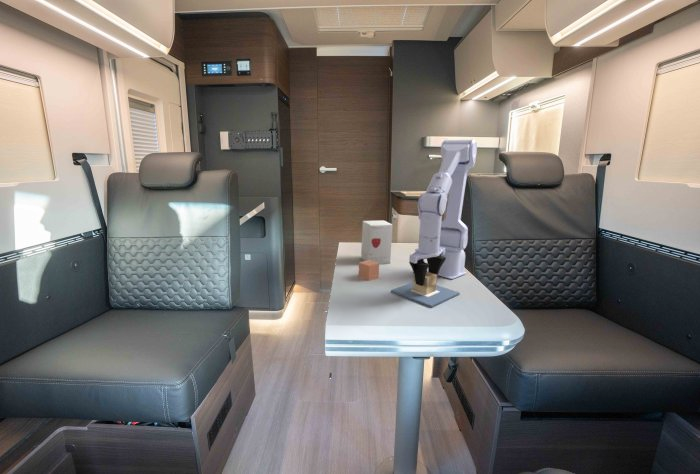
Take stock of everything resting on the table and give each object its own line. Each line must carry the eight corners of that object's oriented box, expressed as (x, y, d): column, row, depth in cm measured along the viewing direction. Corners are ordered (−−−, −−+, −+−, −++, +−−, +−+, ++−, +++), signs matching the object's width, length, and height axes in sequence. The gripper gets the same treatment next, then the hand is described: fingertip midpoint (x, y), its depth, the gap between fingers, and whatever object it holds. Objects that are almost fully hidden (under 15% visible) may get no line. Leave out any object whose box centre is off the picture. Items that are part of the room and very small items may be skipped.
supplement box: (367, 265, 122) (369, 224, 119) (360, 258, 131) (361, 220, 127) (391, 263, 125) (393, 224, 121) (382, 257, 133) (384, 219, 130)
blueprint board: (419, 281, 107) (419, 279, 107) (459, 294, 97) (459, 292, 97) (390, 292, 98) (391, 289, 98) (431, 307, 88) (431, 305, 88)
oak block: (422, 286, 101) (423, 270, 100) (435, 291, 98) (436, 274, 96) (413, 290, 98) (414, 273, 97) (426, 295, 95) (427, 278, 93)
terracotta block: (368, 274, 113) (369, 259, 112) (378, 277, 110) (379, 263, 109) (358, 277, 110) (359, 262, 109) (368, 281, 107) (369, 265, 106)
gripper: (432, 230, 101) (428, 273, 104) (401, 237, 92) (399, 284, 95) (453, 234, 96) (449, 279, 99) (423, 242, 87) (419, 291, 90)
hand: (426, 282), depth 97 cm, fingers open, 6 cm apart
